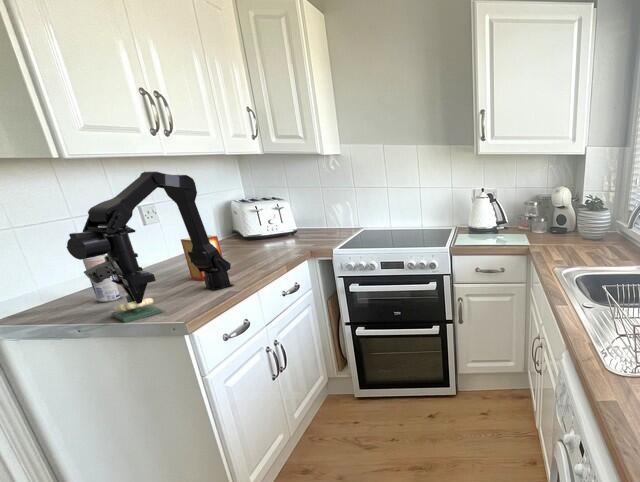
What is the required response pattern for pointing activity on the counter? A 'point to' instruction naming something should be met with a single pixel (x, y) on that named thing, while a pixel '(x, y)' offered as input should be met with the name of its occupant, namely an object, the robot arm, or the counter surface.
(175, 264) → the counter surface
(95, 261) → the beverage can
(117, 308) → the ring
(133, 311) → the stand
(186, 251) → the baking soda box
